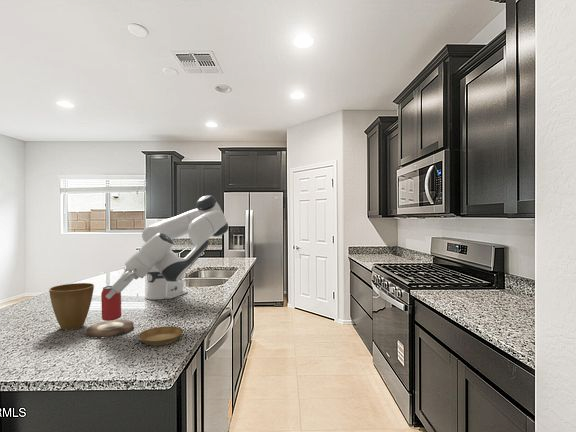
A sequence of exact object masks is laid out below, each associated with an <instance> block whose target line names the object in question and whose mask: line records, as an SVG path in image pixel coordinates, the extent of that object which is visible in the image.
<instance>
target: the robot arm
mask: <svg viewBox="0 0 576 432" xmlns="http://www.w3.org/2000/svg"><path fill="white" fill-rule="evenodd" d="M195 205H196V207H195V208H193V209H190V210H188V211H185V212H183V213H181V214H178V215H176V216H172V217H169V218H166V219H164V220H161V221H159V222H155V223H152V224H150V225H148V226H147V227H145V228H144V229H143V231H142V234H141V238H142V241H143V242H144V244H143V245H142V246H141V248H140V249H139V250H138V251H137V252H135V253H134V254H133V255H132V256H131V257H130V258H128V259H127V260H126V262H124V265H125V267H124V268H123V269H124V271H123V273H122V274H121V275H120V277H119V278H118V279H117V280H116V281H115V282H114V283H113V284H112V285H111V286H112V289H111V291H110V292H109V293H108V294H107V295H106V298H108V299H110V298H111V297H112V296H113V295H114V294H116V293H120V292H121V293H122V292H123V291H124V290H125V288H127V286H129V285H130V284H131V282H132V281H133V280H138V279H139V278H140V279H144V278H145V276H146V279H147V285H146V286H147V287H146V293H145V297H144V298H145V299H147V300H164V299H165V300H166V299H167V300H168V299H169V300H170V299H173V298H177V297H179V296H182V295H185V294H187V293H189V292H188V290H187V289H184V284H183V282H182V281H181V279H182V278H183V277H184V275H185V274H186V273H187V272H188V270H189V269H190V268H191V267H192V266H193V265H194V264H195V263H196V262H197V260H198V259H199V258H200V257H201V256H202V255H203V254H204V252H206V250H207V249H208V246H209V245H210V238H211V237H212V236H213V237H220V236H223V235H224V234H225V233H227V232H228V230H229V224H228V222H227V220H226V217H225V216H226V215H225V214H224V212H223V210H222V209H221V206H220V204H219V203H218V201H217V198H215V196H214V195H203V196H201V197H199V199H198V200H197V201H196V204H195ZM185 235H188V237H189V239H190V241H191V244H192V245H193V249H191V251H190V252H189V253H187V255H186V256H184V258H181V257H179V255H177V254H176V252H174V251H173V250H172V248H173V246H174V244H175V243H174V242H173V241H174V239H178V238H180V237H183V236H185Z"/></svg>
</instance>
